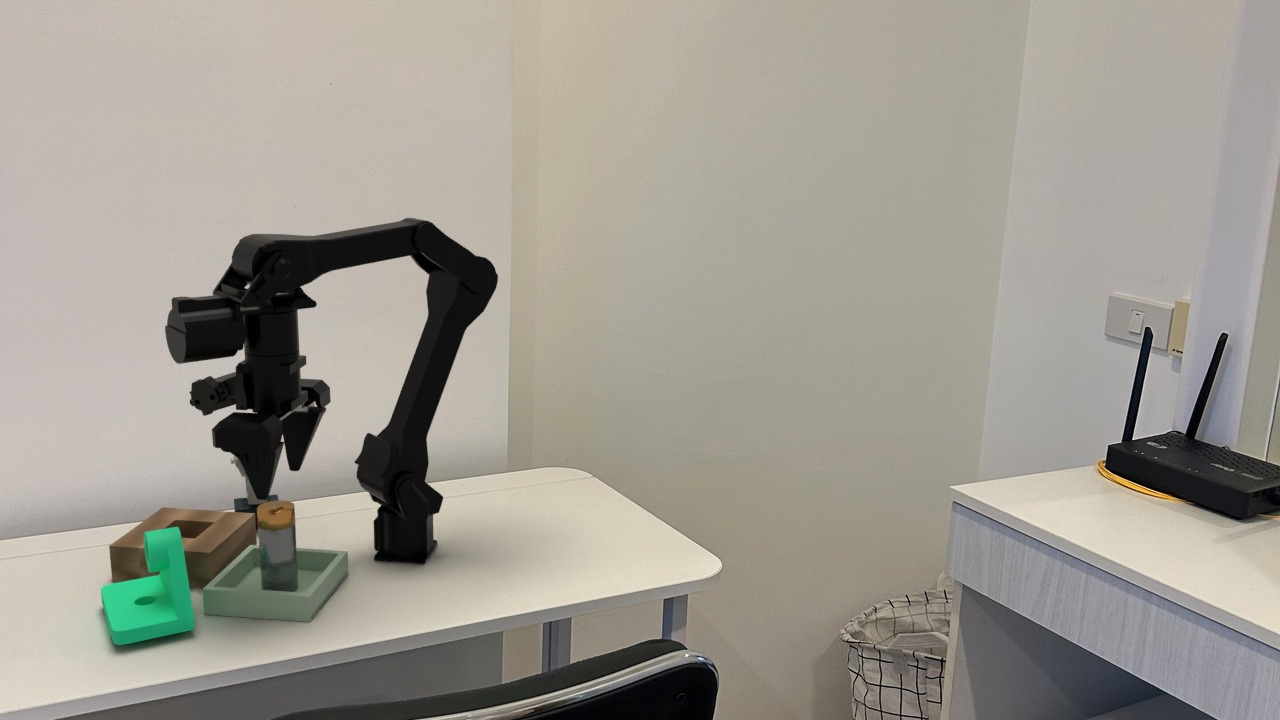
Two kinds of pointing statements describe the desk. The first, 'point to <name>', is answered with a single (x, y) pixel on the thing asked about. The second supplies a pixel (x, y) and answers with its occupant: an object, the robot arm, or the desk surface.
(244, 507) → the watch
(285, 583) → the steel pin
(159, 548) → the camera mount
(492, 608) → the desk surface
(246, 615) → the tray
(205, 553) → the hole block
